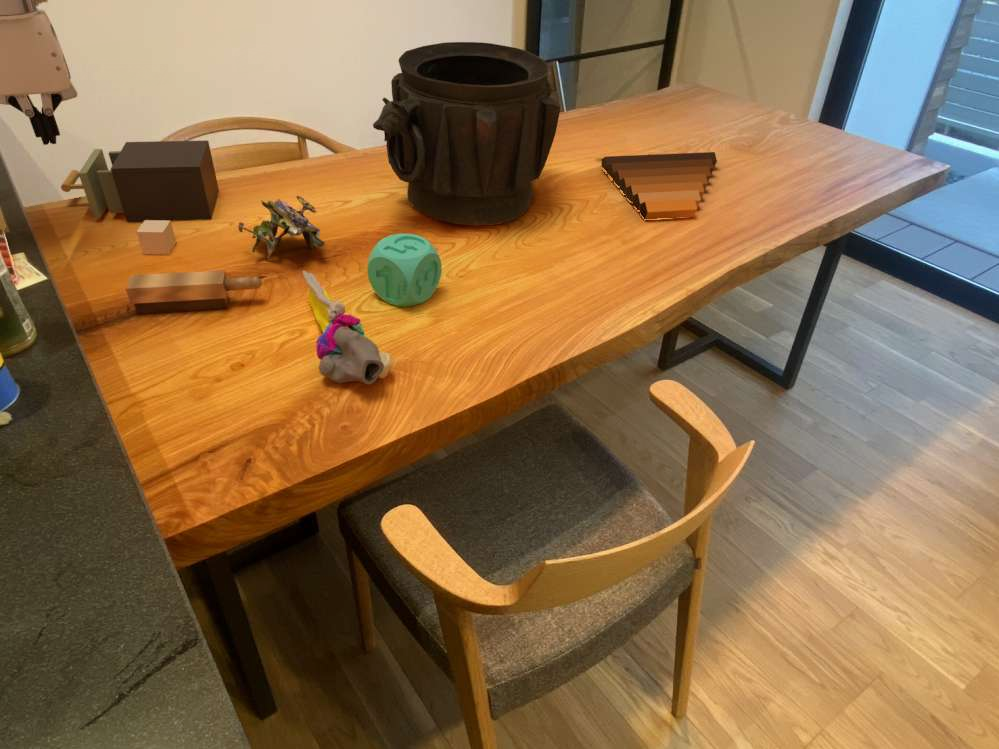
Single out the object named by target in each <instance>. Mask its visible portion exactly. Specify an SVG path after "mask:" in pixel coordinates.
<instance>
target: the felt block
mask: <svg viewBox="0 0 999 749" xmlns="http://www.w3.org/2000/svg"><path fill="white" fill-rule="evenodd" d="M136 236H137V238H138V242H139V245H140V249H141V252H142V255H157V256H158V255H166V256H169V255H170V254H171V252H172V251H173V249H174V247H175V246H176V244H177V240H176V236H175V233H174V229H173V225H172V221H166V220H144V222H141V225H140V226H139V227H138V229H137V230H136Z"/></svg>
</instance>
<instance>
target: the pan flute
mask: <svg viewBox="0 0 999 749" xmlns="http://www.w3.org/2000/svg"><path fill="white" fill-rule="evenodd" d="M717 162H718V160H717V156H716V152H715V151H708V152H707V151H705V152H685V153H684V152H683V153H681V152H680V153H660V154H659V153H658V154H636V155H635V154H633V155H613V156H612V155H611V156H604V157H603V158H601V164H600V166H602V167H603V168H604V169H605V170H606V171H607V173H608V174H609V175H610V176H611V177H612V178H613V180H614V181H615V183H616V184H617V185H618V186H620V189H621V190H622V191H623V193H624V194H626V196H627V198H628V199H629V200H630V201H631V202H633V204H632V206H633V205H634V206H635V207H636V208H637V210H640V212H639V214H640V213H641V215H642V216H643V217H644V219H657V218H677V217H678V218H679V217H693V218H694V217H695V215H696V213H697V212H698V207H699V206H700V203H701V202H702V198H703V196H704V194H705V191H706V188H707V186H708V184H709V181H710V179H711V177H712V173H713V172H714V170H715V166H716V164H717ZM704 190H705V191H704ZM626 196H625V197H626Z"/></svg>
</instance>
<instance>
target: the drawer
mask: <svg viewBox="0 0 999 749" xmlns="http://www.w3.org/2000/svg"><path fill="white" fill-rule="evenodd" d="M120 152H121V150H114V151H109V152H108V156H109V160H110V163H111V167H112V166H113V164H114V162H115V160H116V159H117V157H118V155H119V153H120ZM78 179H79V180H80V182H81V183H78V184H77V181H78ZM60 189H61V190H62V192H65V193H69V192H71V191H72V190H83V191H84V194H85V197H86V200H87V203H88V206H89V209H90V211H91V214H92V218H102V216H103V215H104V213H105V211H106V209H107V208H108V211H109V213H110V214H125V213H124V209H123V206H122V203H121V200H120V197H119V193H118V190H117V187H116V184H115V181H114V178H113V174H112V171H111V169H109V167H108V164H107V161H106V157H105V155H104V152H103V149H102V148H94V149H93V150H92V152H91V153H90V155H89V156H88V158H87V159H86V162H84V164H83V165H82V167H81V169H79V171H78V170H76V169H72V170H70V172H69V174H68V175H67V176H66V178H65V180H64V181H63V182H62V184H61V185H60Z"/></svg>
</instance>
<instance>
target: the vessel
mask: <svg viewBox="0 0 999 749" xmlns="http://www.w3.org/2000/svg"><path fill="white" fill-rule="evenodd" d="M398 64H399V69H400V72H399V73H396V74H395V75H394V76H393V77H392V79H391V82H390V83H391V98H392V100H389V99H387V97H383V98H382V99H381V101H382V102H383V103H384V105H383V107H382V109H381V112H380V114H379V117H378V119H376V121H374V122H373V123H372V127H373V129H375V130H377V131H380V132H381V131H382V132H383V134H384V139H383V140H384V141H383V142H386V143H385V144H386V152H387V159H388V164H389V165H390V166H391V169H392V171H393V172H394V174H395V175H396V176H397V178H398V179H399V180H400V181H402V182H405V183H408V185H407V194H406V195H407V198H408V199H407V200H408V201H409V203H410V204H411V205H412V206H413V207H414V208H415V209H416V210H417V211H419V212H421V213H423V214H425V215H426V216H428V217H429V218H433V219H436V220H440V221H442V222H447V223H451V224H455V225H463V226H489V225H493V226H494V225H498V224H499V225H500V224H504V223H507V222H511V221H514V220H516V219H517V218H520V217H521V216H522V215H524V214H525V213H526V212H527V211H529V210H530V207H531V203H532V200H533V195H532V194H533V192H532V182H534V181H535V180H538V179H539V178H540V177H541V174H542V172H543V170H544V169H545V166H546V163H547V160H548V157H549V155H550V152H551V149H552V146H553V142H554V139H555V137H556V133H557V128H558V124H559V123H558V122H559V119H560V111H561V110H560V107H561V106H560V105H559V104H558V103H557V101H556V99H555V98H553V97H551V95H552V92H553V88H552V83H551V82H550V81H549V74H550V67H549V64H548V63H547V62H546V60H544V59H543V58H542V57H539V56H538V55H536V54H534V53H532V52H530V51H528V50H525V49H521V48H519V47H513V46H507V45H502V44H496V43H490V42H482V41H481V42H478V41H452V42H451V41H450V42H440V43H432V44H428V45H423V46H418V47H415V48H412V49H409V50H406V51H404V53H402V54H401V55H400V56H399V58H398Z"/></svg>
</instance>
